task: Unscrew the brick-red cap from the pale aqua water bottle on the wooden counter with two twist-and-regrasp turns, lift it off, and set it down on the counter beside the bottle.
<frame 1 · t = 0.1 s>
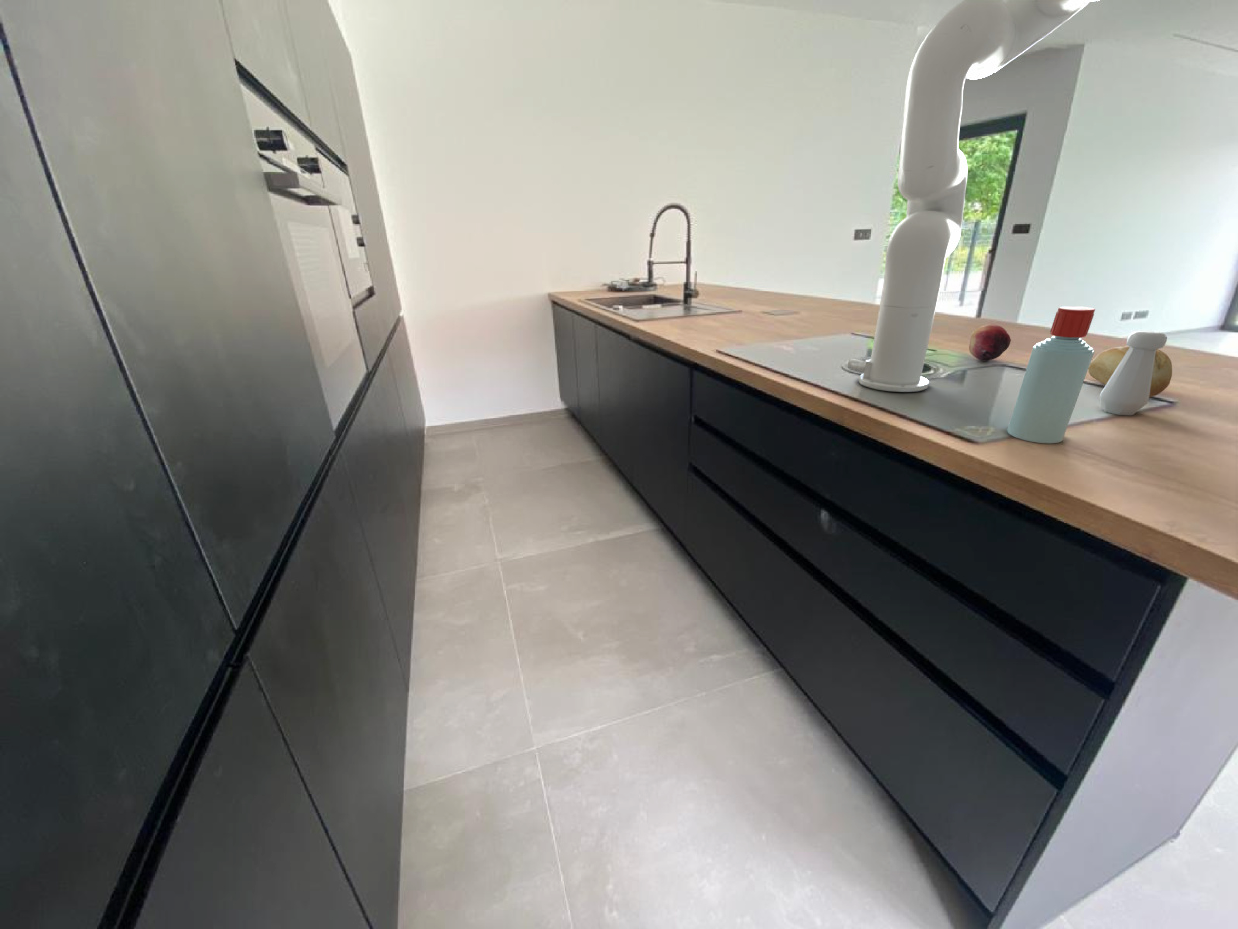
bottle: (1034, 435, 75), on the table
potato: (1120, 390, 94), on the table
salt shaker: (1117, 412, 83), on the table
fruit: (984, 361, 117), on the table
cap: (1075, 311, 68), point 18 cm above the table, screwed on, not yet turned
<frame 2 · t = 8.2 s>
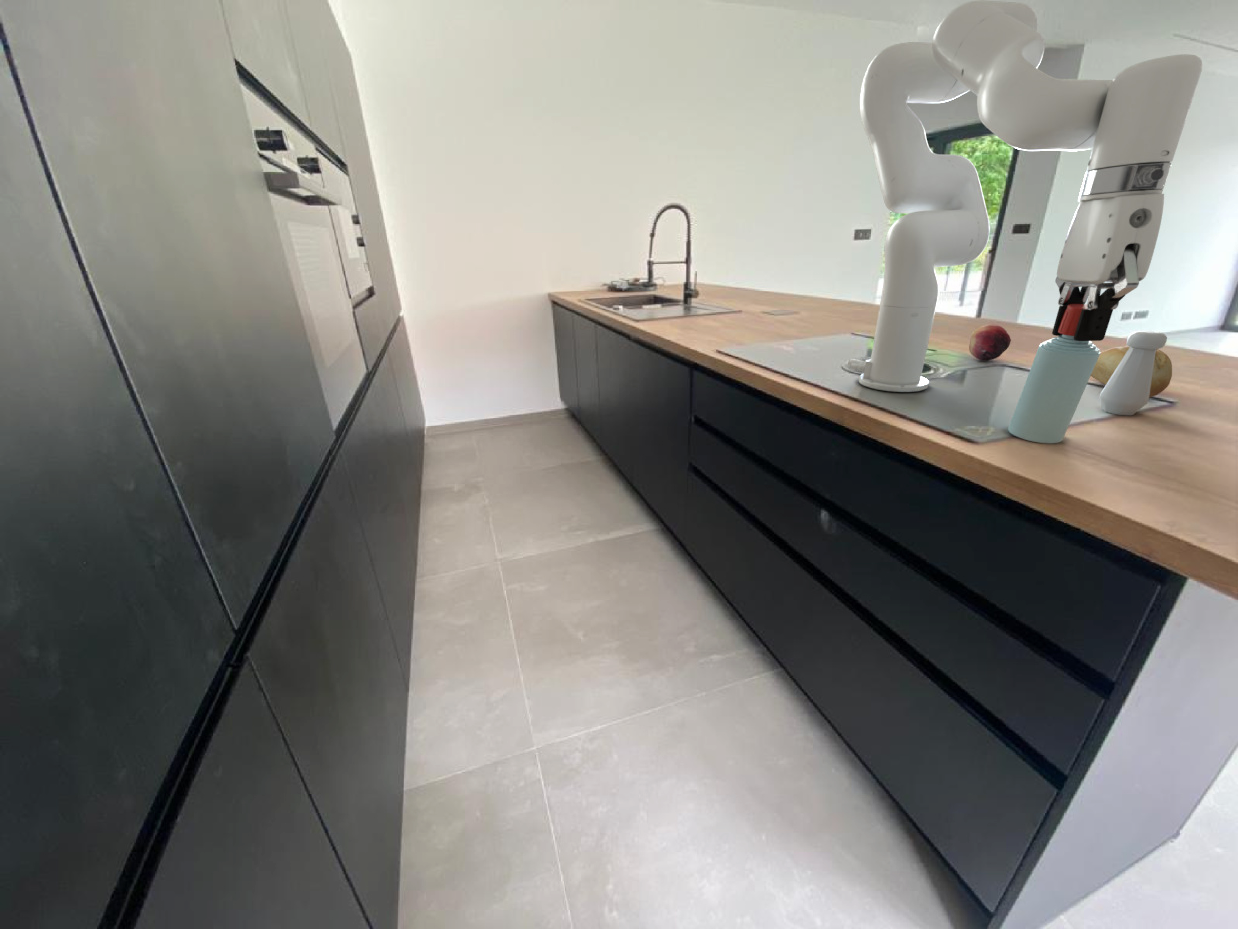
hand: (1076, 336, 68), 15 cm above the table, tool pointing down, fingers closed on cap, 3 cm apart
bottle: (1034, 434, 75), on the table, touching gripper
cap: (1085, 309, 67), point 18 cm above the table, turned 208° so far, risen 0.2 cm, still on its thread, touching gripper
everything else where it was.
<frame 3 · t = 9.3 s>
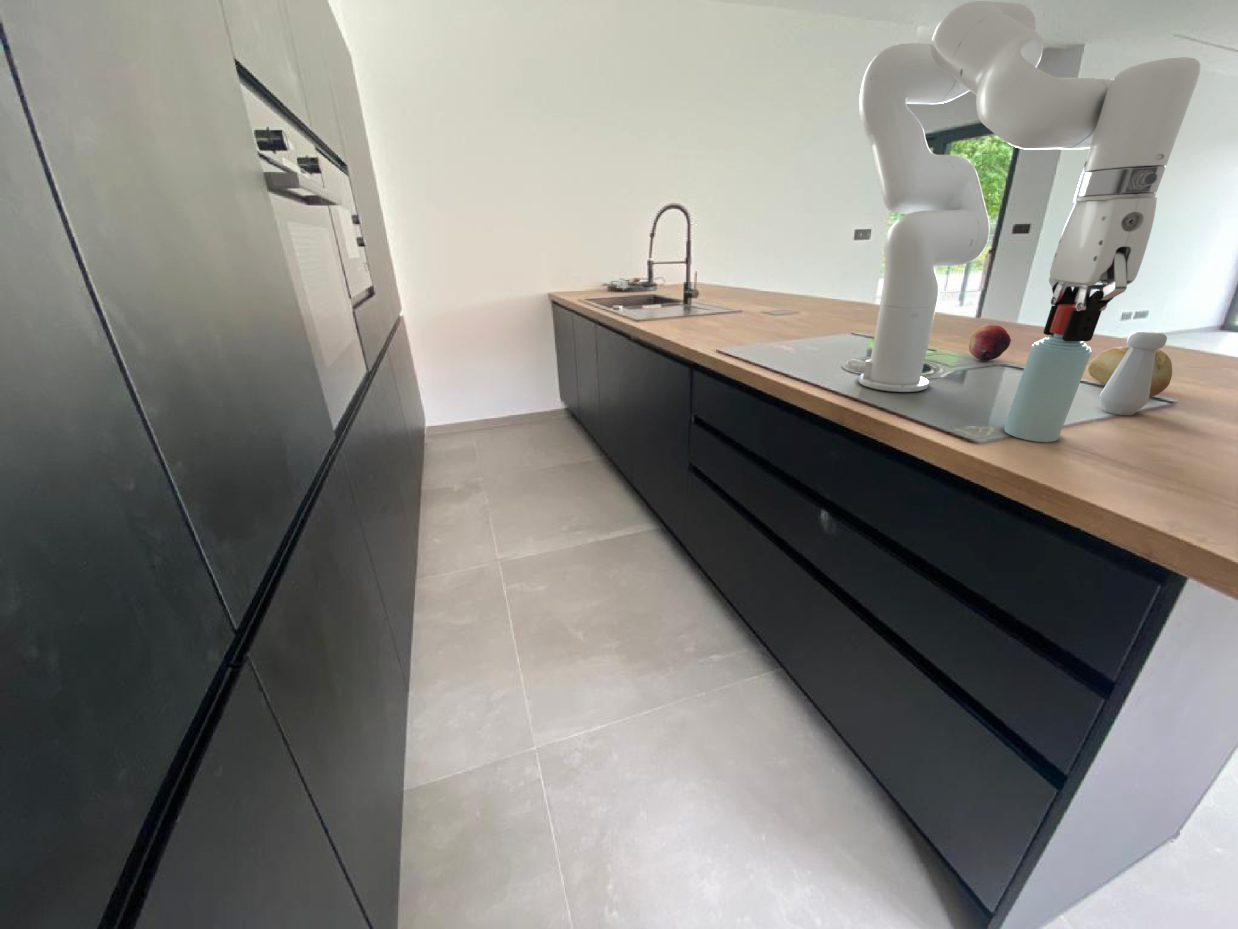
hand: (1066, 336, 69), 15 cm above the table, tool pointing down, fingers closed on cap, 3 cm apart
bottle: (1030, 433, 76), on the table
cap: (1075, 308, 68), point 18 cm above the table, turned 208° so far, risen 0.2 cm, still on its thread, touching gripper
everything else where it was.
when the fingers open (15 cm above the table, at t = 13.4 s): cap stays where it is, point 18 cm above the table.
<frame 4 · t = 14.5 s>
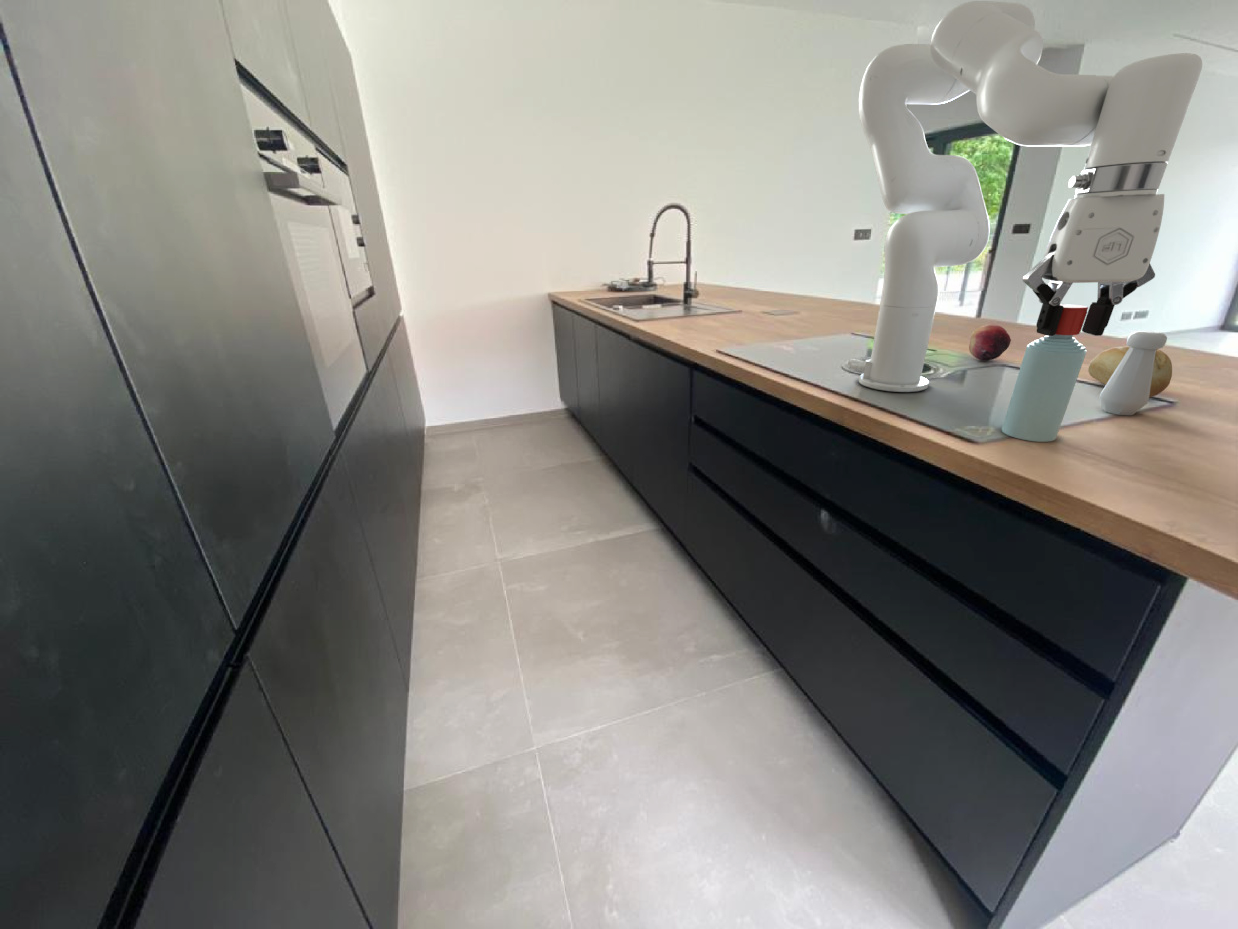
hand: (1068, 332, 69), 15 cm above the table, tool pointing down, fingers open, 5 cm apart
cap: (1069, 308, 68), point 18 cm above the table, turned 208° so far, risen 0.2 cm, still on its thread, touching gripper
everything else where it was.
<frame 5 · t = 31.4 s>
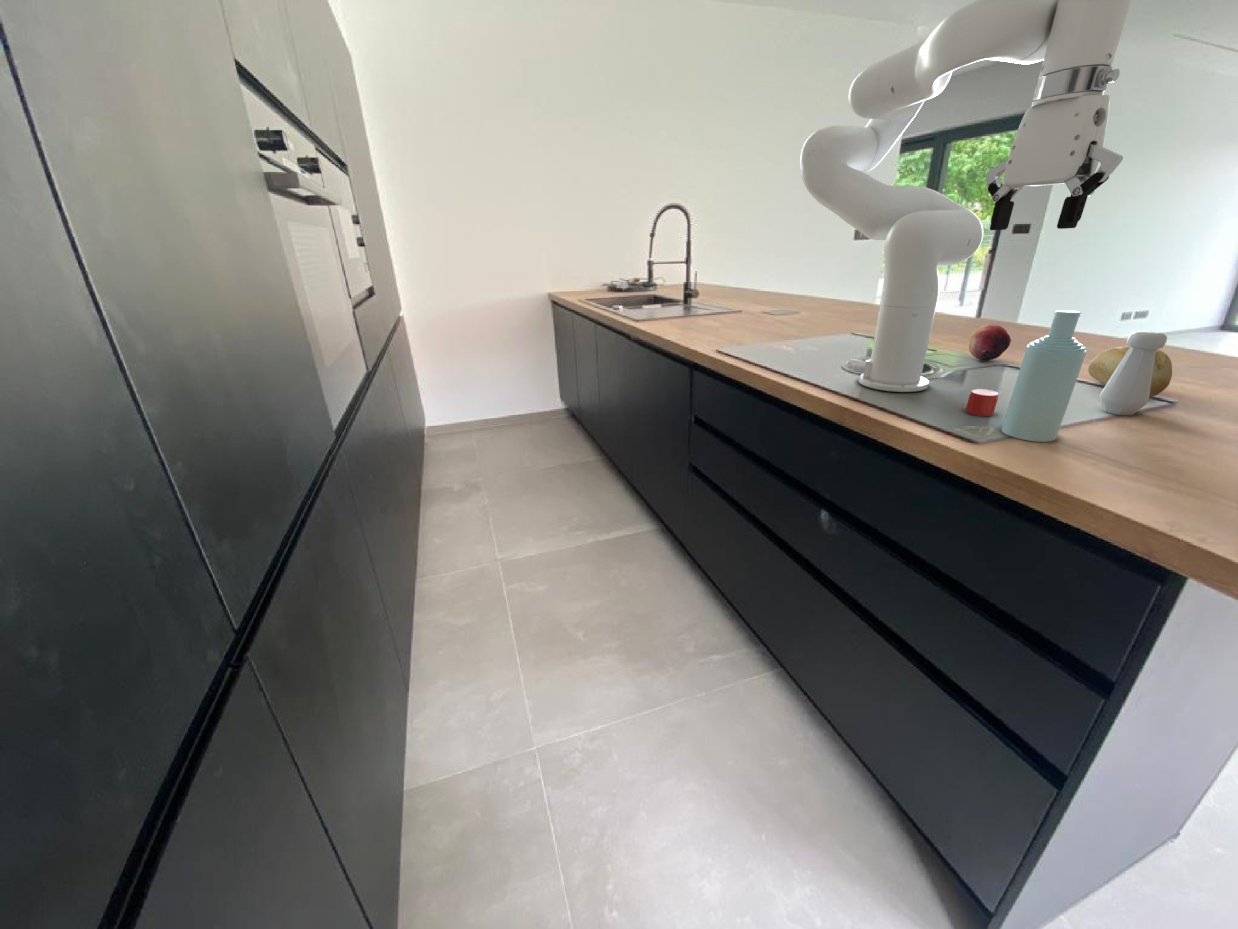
hand: (1030, 229, 75), 28 cm above the table, tool pointing down, fingers open, 9 cm apart
cap: (984, 394, 84), point 3 cm above the table, off its thread
everything else where it was.
at the end: cap came off its thread; cap point 3.2 cm above the table; the gripper is holding nothing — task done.
